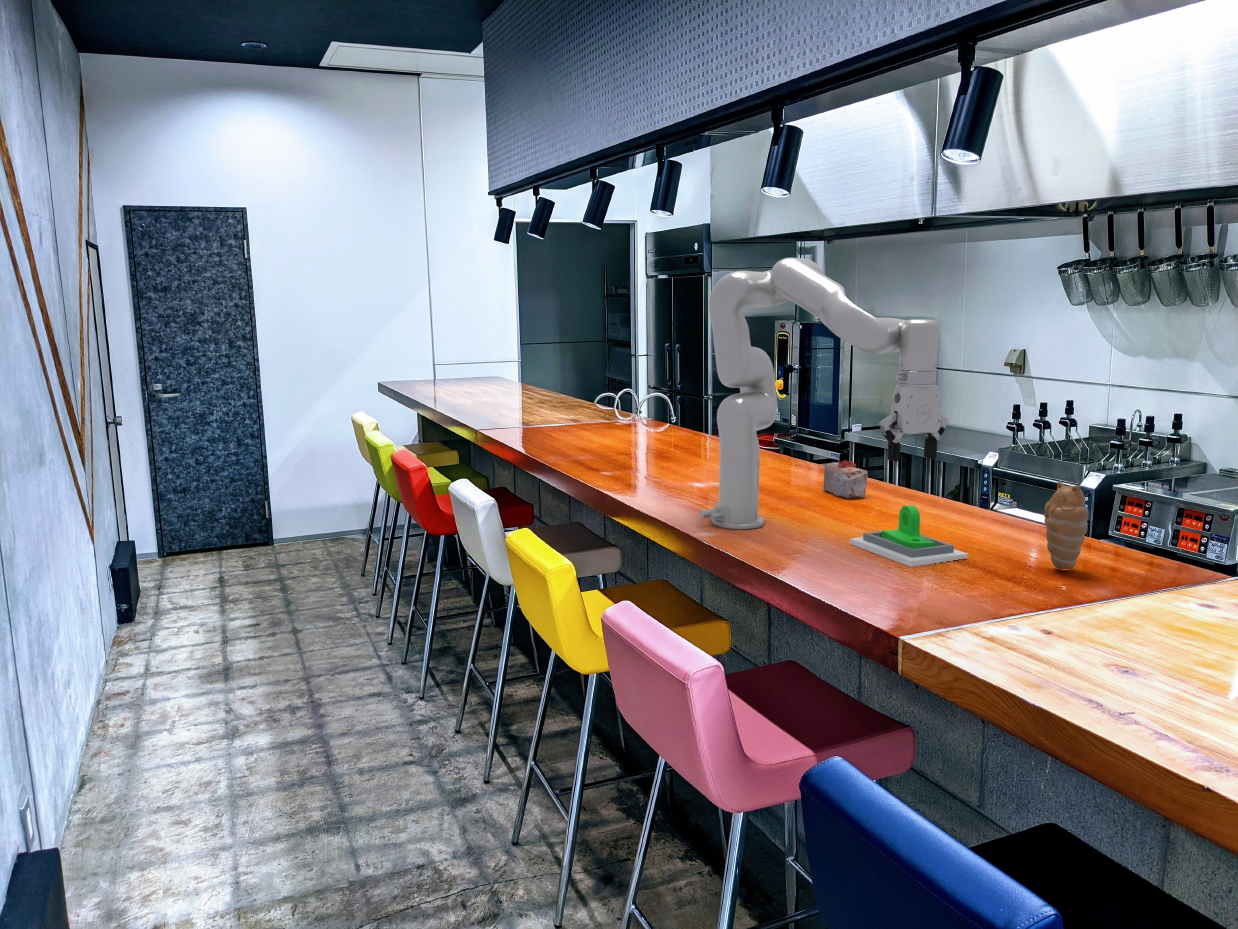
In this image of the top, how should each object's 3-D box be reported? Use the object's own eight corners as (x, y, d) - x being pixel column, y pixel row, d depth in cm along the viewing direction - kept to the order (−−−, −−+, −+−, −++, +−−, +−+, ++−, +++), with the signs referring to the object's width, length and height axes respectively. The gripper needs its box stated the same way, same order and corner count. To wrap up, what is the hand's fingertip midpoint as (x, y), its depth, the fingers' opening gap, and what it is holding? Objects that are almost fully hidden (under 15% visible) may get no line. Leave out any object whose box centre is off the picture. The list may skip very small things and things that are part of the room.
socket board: (910, 566, 189) (911, 553, 189) (849, 543, 208) (850, 531, 207) (967, 559, 195) (968, 546, 195) (903, 537, 213) (904, 526, 213)
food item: (871, 499, 256) (872, 463, 255) (846, 501, 253) (848, 465, 252) (841, 489, 269) (843, 456, 267) (818, 491, 266) (819, 457, 264)
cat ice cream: (1030, 567, 190) (1038, 480, 187) (1060, 563, 192) (1068, 477, 189) (1065, 578, 181) (1073, 488, 178) (1095, 575, 184) (1104, 485, 181)
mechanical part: (881, 539, 207) (883, 504, 206) (906, 538, 208) (908, 502, 207) (908, 553, 195) (910, 515, 194) (934, 551, 196) (936, 514, 195)
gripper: (895, 381, 188) (890, 464, 191) (962, 379, 195) (956, 459, 198) (871, 378, 195) (867, 459, 198) (936, 376, 202) (931, 454, 205)
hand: (911, 459), depth 198 cm, fingers open, 9 cm apart
